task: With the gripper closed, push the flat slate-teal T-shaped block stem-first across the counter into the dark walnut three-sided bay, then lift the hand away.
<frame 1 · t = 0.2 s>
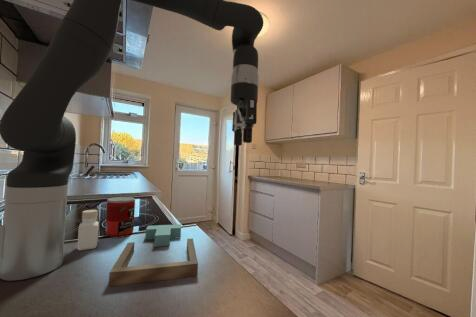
hand: (242, 144, 56), 29 cm above the counter, tool pointing down, fingers open, 8 cm apart
canned food: (119, 234, 64), on the counter
salt shaker: (87, 248, 53), on the counter
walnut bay: (159, 261, 47), on the counter
teal T block: (163, 239, 60), on the counter
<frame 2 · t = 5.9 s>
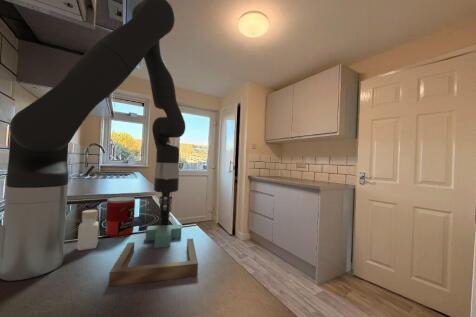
hand: (164, 229, 66), 1 cm above the counter, tool pointing down, fingers closed
teal T block: (163, 240, 60), on the counter, touching gripper
everything else where it was.
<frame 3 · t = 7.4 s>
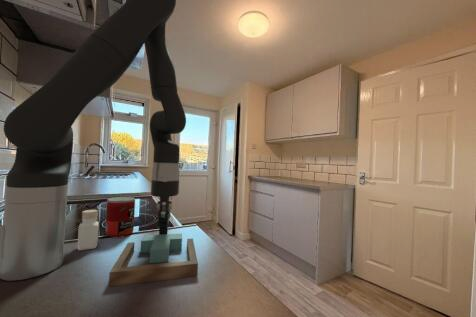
hand: (163, 239, 58), 1 cm above the counter, tool pointing down, fingers closed
teal T block: (161, 253, 52), on the counter, touching gripper
everything else where it was.
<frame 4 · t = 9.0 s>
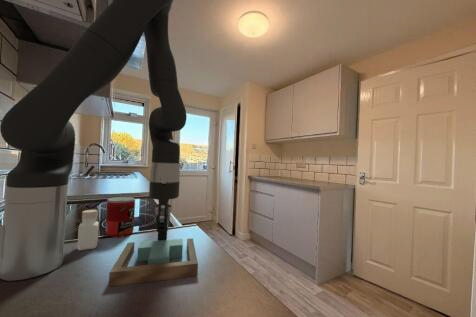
hand: (162, 245, 54), 1 cm above the counter, tool pointing down, fingers closed
teal T block: (160, 261, 47), on the counter, touching gripper
everything else where it was.
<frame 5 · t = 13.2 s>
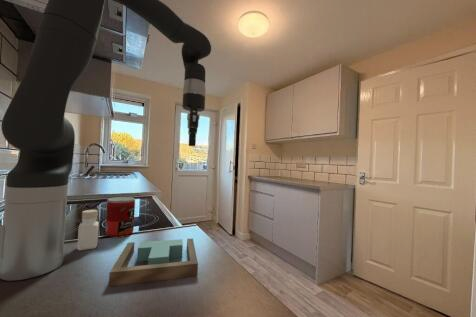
hand: (191, 145, 69), 29 cm above the counter, tool pointing down, fingers closed
teal T block: (159, 261, 47), on the counter
everything else where it was.
at the end: teal T block 0.8 cm from the target spot, on the counter; teal T block moved 13.7 cm from its start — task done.
